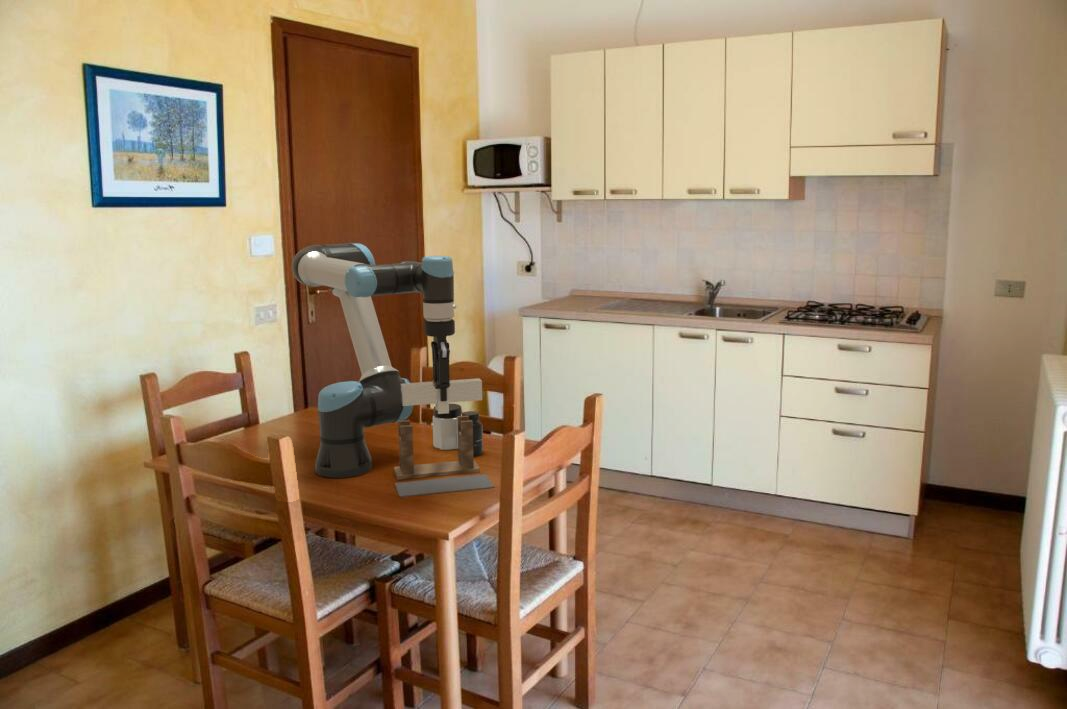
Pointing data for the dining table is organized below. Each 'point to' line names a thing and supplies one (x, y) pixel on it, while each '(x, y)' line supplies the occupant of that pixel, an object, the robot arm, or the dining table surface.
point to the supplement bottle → (476, 432)
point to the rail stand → (436, 469)
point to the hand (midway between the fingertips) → (442, 411)
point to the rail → (428, 393)
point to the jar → (446, 428)
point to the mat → (443, 485)
